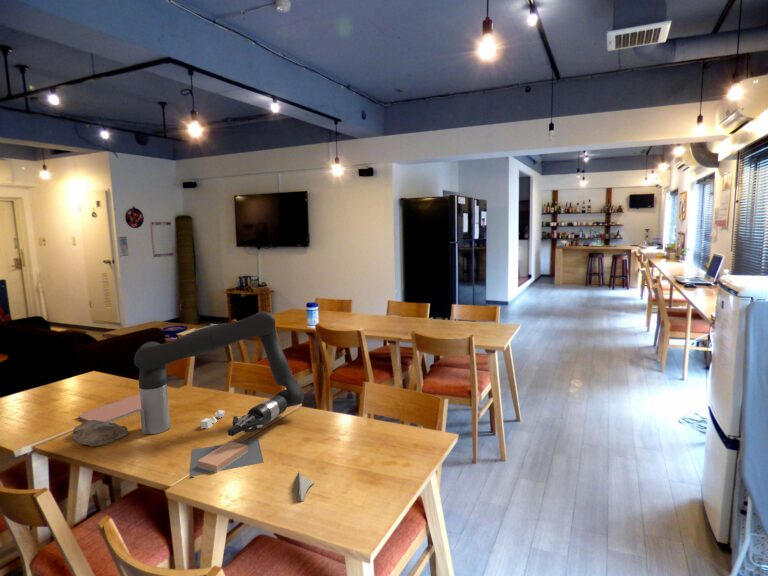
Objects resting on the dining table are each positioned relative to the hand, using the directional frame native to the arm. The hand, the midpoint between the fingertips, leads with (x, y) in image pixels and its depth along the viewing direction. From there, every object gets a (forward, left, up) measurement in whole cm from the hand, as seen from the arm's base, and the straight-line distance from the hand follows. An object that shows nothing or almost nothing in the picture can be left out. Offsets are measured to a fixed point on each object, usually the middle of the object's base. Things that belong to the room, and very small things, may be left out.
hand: (229, 433), depth 150 cm
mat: (-1, 0, -8) cm, 8 cm away
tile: (+3, +3, -6) cm, 7 cm away
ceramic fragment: (+18, -27, -9) cm, 34 cm away
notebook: (-41, +59, -9) cm, 72 cm away
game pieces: (-5, +31, -8) cm, 32 cm away
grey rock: (-46, +35, -8) cm, 58 cm away
